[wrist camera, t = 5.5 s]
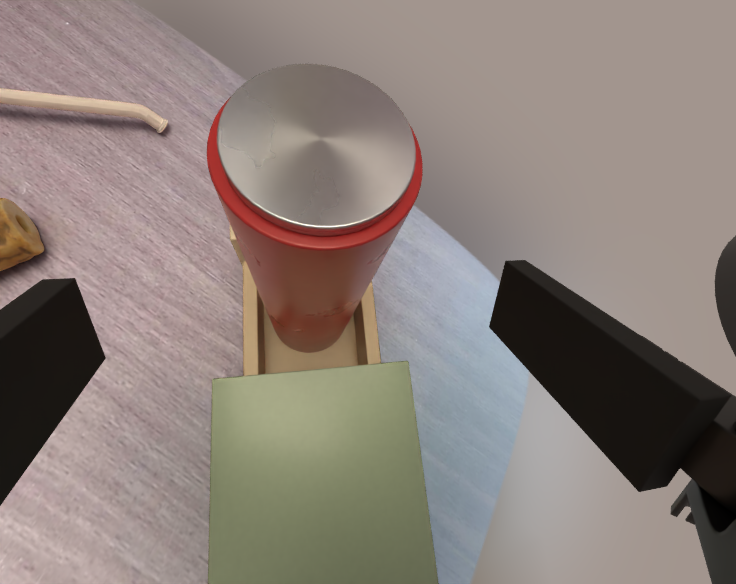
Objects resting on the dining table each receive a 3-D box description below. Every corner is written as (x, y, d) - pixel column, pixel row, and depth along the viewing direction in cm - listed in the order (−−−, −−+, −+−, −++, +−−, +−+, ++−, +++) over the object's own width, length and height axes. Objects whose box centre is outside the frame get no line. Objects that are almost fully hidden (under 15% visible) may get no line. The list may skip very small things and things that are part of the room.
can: (359, 304, 25) (461, 123, 9) (322, 367, 23) (364, 286, 7) (298, 268, 25) (286, 21, 9) (256, 328, 23) (146, 158, 7)
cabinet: (236, 384, 23) (211, 378, 17) (383, 370, 25) (408, 360, 19) (236, 590, 20) (205, 674, 14) (404, 555, 22) (443, 615, 16)
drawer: (242, 206, 26) (230, 165, 22) (359, 205, 28) (369, 168, 24) (243, 404, 22) (228, 404, 18) (379, 389, 24) (397, 386, 20)
